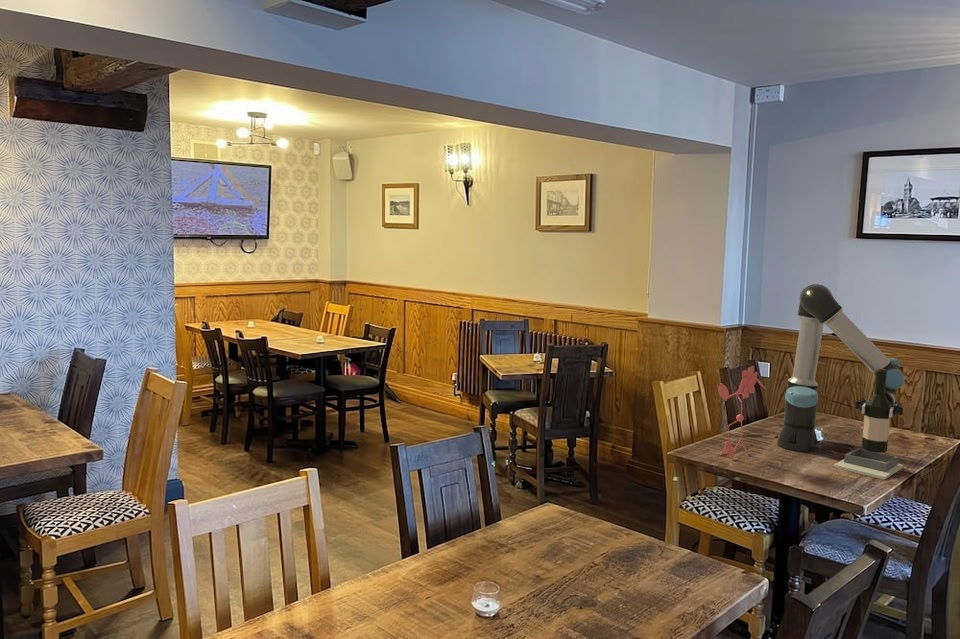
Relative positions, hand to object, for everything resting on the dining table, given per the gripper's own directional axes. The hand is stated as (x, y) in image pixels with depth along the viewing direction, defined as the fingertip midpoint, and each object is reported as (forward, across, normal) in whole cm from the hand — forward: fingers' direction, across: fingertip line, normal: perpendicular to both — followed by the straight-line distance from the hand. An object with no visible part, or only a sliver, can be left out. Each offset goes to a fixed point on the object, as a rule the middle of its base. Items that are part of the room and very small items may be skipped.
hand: (876, 411), depth 256 cm
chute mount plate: (-2, +1, -21) cm, 22 cm away
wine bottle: (-5, 0, -15) cm, 16 cm away
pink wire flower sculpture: (+17, +41, -21) cm, 49 cm away
